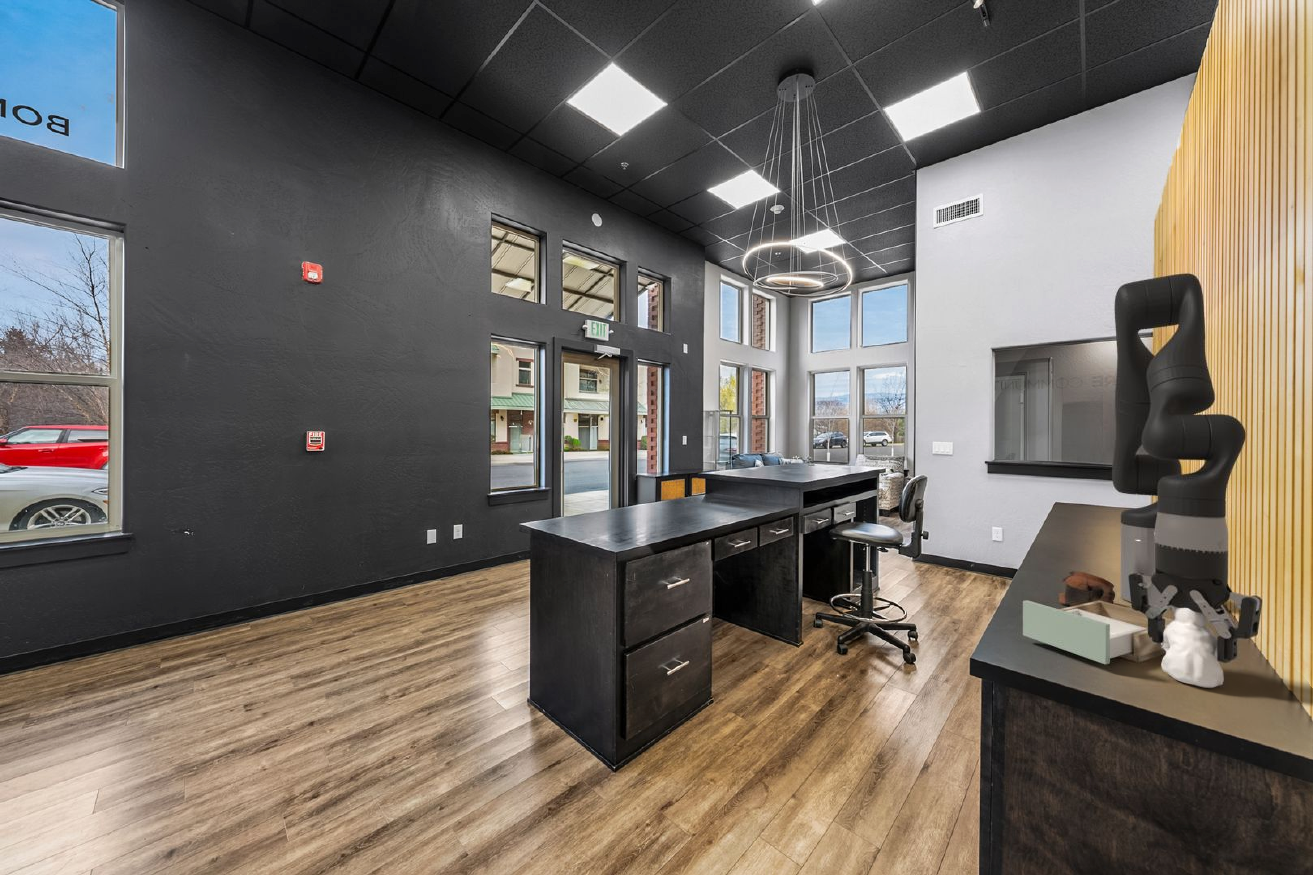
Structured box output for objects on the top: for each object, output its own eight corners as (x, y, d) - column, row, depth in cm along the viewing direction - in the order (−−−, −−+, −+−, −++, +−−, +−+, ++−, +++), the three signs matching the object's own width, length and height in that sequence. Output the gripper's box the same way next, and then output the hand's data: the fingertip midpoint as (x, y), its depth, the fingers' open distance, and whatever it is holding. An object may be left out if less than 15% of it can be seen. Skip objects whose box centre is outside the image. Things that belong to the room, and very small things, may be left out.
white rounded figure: (1162, 682, 72) (1162, 603, 72) (1159, 663, 78) (1159, 590, 78) (1227, 698, 68) (1227, 614, 68) (1218, 677, 74) (1218, 600, 74)
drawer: (1105, 664, 75) (1105, 625, 75) (1022, 635, 86) (1022, 601, 86) (1154, 649, 80) (1154, 612, 80) (1070, 623, 92) (1070, 591, 92)
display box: (1138, 662, 78) (1138, 635, 78) (1053, 634, 90) (1053, 610, 90) (1184, 647, 84) (1184, 622, 84) (1099, 622, 95) (1099, 600, 95)
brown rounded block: (1044, 599, 109) (1055, 566, 111) (1085, 619, 108) (1096, 586, 109) (1087, 606, 98) (1100, 569, 99) (1134, 629, 96) (1146, 592, 98)
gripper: (1274, 552, 68) (1273, 667, 68) (1141, 533, 81) (1141, 629, 81) (1250, 556, 65) (1249, 677, 65) (1117, 536, 78) (1116, 636, 78)
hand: (1189, 650), depth 73 cm, fingers closed on white rounded figure, 6 cm apart
